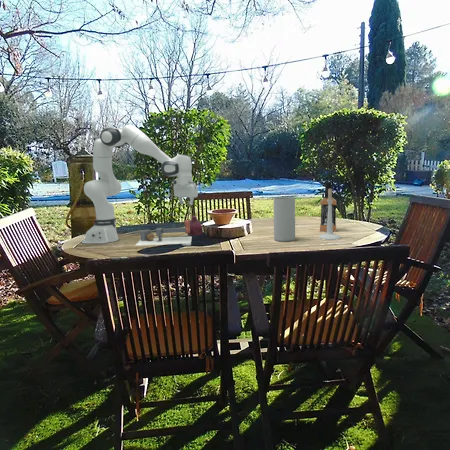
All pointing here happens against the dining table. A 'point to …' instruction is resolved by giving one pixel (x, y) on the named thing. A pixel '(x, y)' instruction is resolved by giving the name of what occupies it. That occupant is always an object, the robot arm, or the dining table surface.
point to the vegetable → (195, 227)
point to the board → (162, 239)
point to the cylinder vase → (284, 219)
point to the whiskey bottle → (325, 210)
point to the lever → (174, 229)
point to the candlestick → (329, 221)
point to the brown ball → (150, 237)
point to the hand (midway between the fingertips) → (186, 204)
